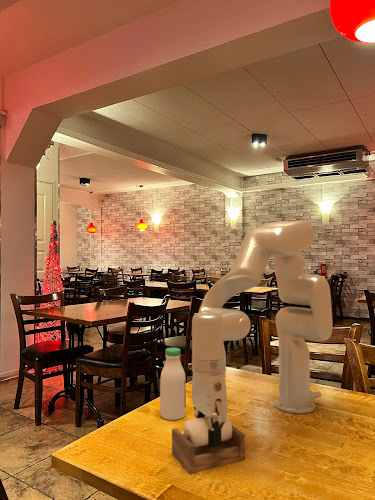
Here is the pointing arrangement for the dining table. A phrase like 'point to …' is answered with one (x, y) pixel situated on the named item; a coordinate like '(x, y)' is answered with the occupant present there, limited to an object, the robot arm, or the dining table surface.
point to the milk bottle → (172, 387)
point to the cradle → (207, 451)
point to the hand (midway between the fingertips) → (208, 439)
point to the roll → (204, 430)
